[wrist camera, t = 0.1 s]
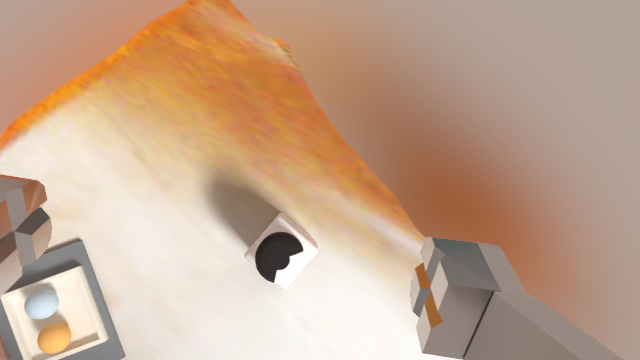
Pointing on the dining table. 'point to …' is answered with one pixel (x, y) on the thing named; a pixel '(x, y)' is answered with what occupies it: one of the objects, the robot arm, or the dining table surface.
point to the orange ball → (54, 338)
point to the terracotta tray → (3, 350)
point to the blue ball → (41, 304)
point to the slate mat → (100, 356)
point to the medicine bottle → (281, 251)
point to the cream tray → (57, 315)
